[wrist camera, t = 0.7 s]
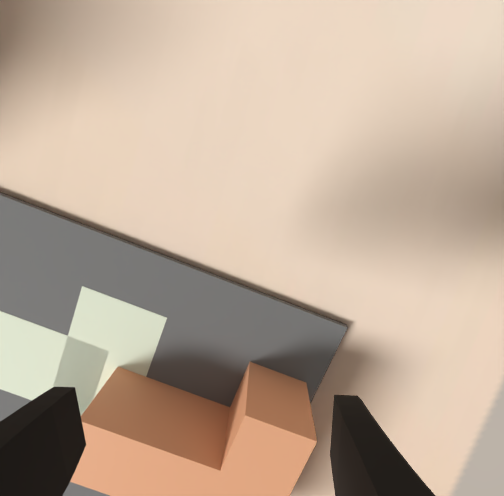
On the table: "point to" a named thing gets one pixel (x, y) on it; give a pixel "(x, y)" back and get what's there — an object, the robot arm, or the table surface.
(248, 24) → the table surface
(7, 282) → the mat
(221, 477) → the t block
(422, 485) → the robot arm
